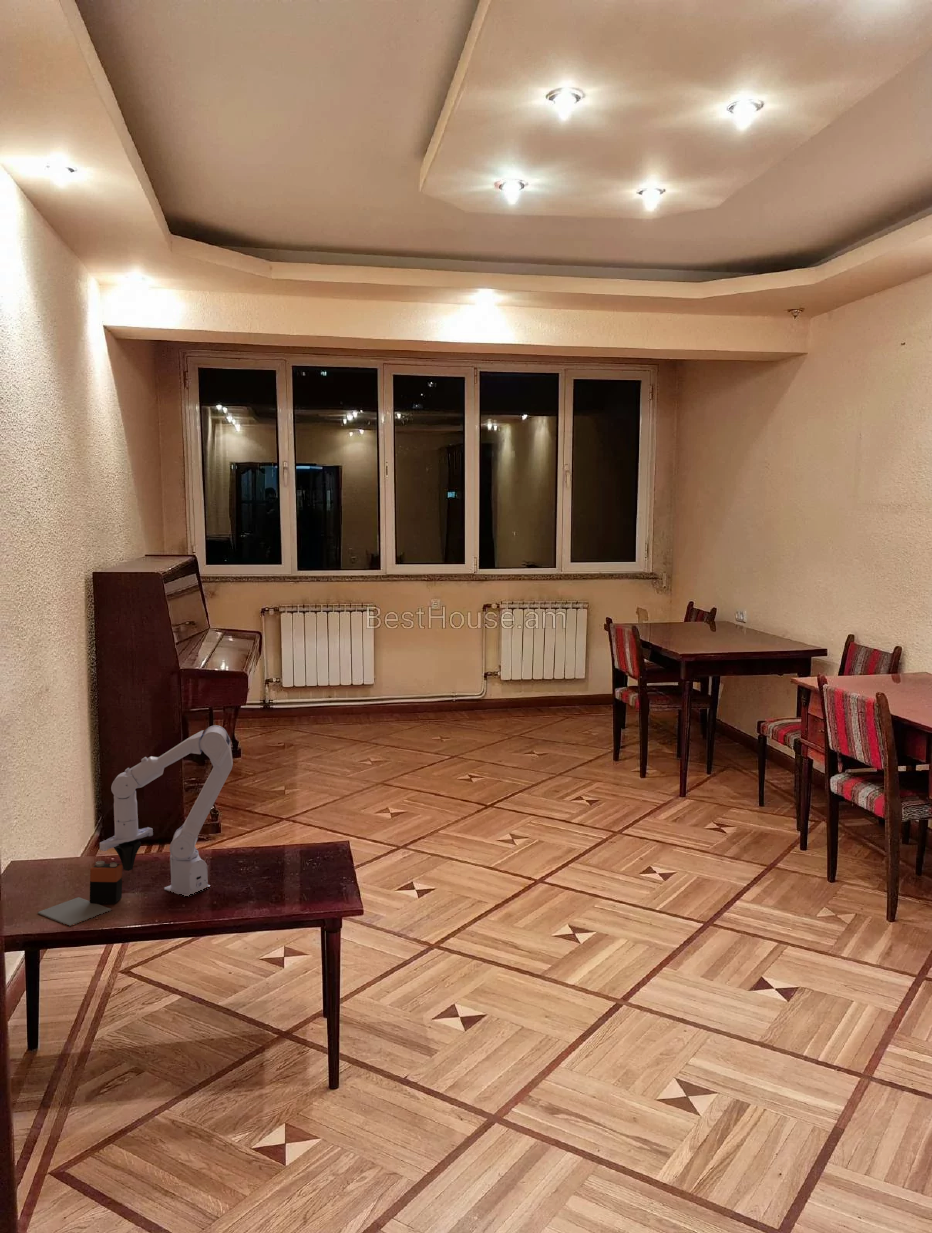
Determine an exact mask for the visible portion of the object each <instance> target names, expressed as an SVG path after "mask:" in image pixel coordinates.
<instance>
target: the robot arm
mask: <svg viewBox="0 0 932 1233" xmlns="http://www.w3.org/2000/svg"><path fill="white" fill-rule="evenodd" d="M202 752H203V753H204V755H206V756H207V757H208V758H209V761H210V763H211V765H212V768H211V771H210V772H209V775H208V777H207V779H206V780H205V782H204V784H203V786H202V788H201V790H200V792H199V794H198V797H197V798H196V800H195V802H194V804H193V806H192V808H191V809H190V812H189V813H188V815H187V817H186V819H185V821H184V822H183V824H182V825H181V826H180V827H179V828H177V829H176V830H175V832H174V834H173V837H172V841H171V842H170V844H169V853H170V855H169V859H170V860H169V861H170V863H169V864H170V885H168V886H164V888H163V889H164V891H168V892H170V891H171V893H173V892H174V894H177V895H179V894H182V895H184V896H183V897H185V896H188V897H190V896H191V895H190V894H193V895H195V894H196V893H195V892H198V891H200V890H202V891H204V890H203V889H204V888H206V887H210V886H211V885H210V884H209V882H208V879H209V878H208V877H209V876H208V874H209V873H208V865H207V863H206V861H205V860H204V859H202V858H201V856H200V854H199V850H198V849H197V847H196V844H197V842H198V840H199V834H200V833H201V830H202V828H203V825H204V823H205V822H206V820H207V818H208V815H209V814H210V812H211V810H212V808H213V806H214V804H215V802H216V800H217V799H218V796H219V794H220V792H221V790H222V788H223V786H224V785H225V783H226V781H227V779H228V777H229V775H230V773H231V771H232V769H233V765H234V760H233V752H232V746H231V738H230V735H229V734H228V732H227V730H226V729H225V728H224V727H223V726H220V725H219V724H218V725H216V724H214V725H211V726H209V727H207V728H206V729H205V730H200V731H198V732H197V733H195V734H193V735H191V736H189V737H188V738H186V739H184V740H183V741H181V742H180V743H178V744H177V745H175V746H174V747H172V748H170V749H169V750H167V751H165V753H162V754H161V755H160V756H152V755H151V756H149V757H147V756H144V757H143V758H141V759H140V761H141V762H139V763H137V764H136V765H134V766H132V767H131V768H130V767H127V768H126V769H125V770H124V772H121V773H119V774H118V775H117V776H116V777H115V778H114V780H113V781H112V783H111V787H110V789H111V790H110V791H111V793H112V794H113V816H114V817H113V821H114V835H113V836H111V837H109V838H107V839H106V840H105V839H104V840H103V841H100V842H99V850H100V851H103V852H106V851H108V850H109V849H111V848H113V849H114V850H115V852H116V853H117V855H118V857H119V859H120V861H121V864H122V870H125V871H128V872H130V871H131V870H132V871H133V869H134V864H135V860H136V856H137V854H138V852H139V850H140V848H141V846H142V842H141V841H140V839H143V838H146V837H152V836H153V835H154V832H153V831H154V830H153V828H152V827H149V826H147V827H143V828H139V818H138V815H139V814H138V800H137V790H136V789H140V788H143V787H145V786H146V785H148V784H150V783H151V782H152V781H154V780H156V779H157V778H159V777H161V776H163V774H164V770H165V768H167V767H168V766H170V765H172V764H174V763H176V762H177V761H179V760H181V759H182V758H184V757H186V756H188V755H189V754H196V755H201V754H202ZM210 888H211V887H210ZM200 892H201V891H200ZM194 893H195V894H194ZM198 893H199V892H198ZM182 895H181V896H182ZM189 895H190V896H189Z"/></svg>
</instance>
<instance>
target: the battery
mask: <svg viewBox="0 0 932 1233" xmlns="http://www.w3.org/2000/svg"><path fill="white" fill-rule="evenodd" d="M89 872H90V873H89V901H90V903H96V904H110V905H112V904H113V905H115V904H116V903H118V902H119V901H120V900H121V899H122V897H123V865H122V863H117V861H115V862H114V861H113V862H110V863H105V861H103V860H100V861H99V860H98V861H96V862H95V865H93V866H91V868H90V871H89Z"/></svg>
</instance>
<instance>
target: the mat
mask: <svg viewBox="0 0 932 1233" xmlns="http://www.w3.org/2000/svg"><path fill="white" fill-rule="evenodd" d="M108 911H109V912H111V911H112V909H111V908H110V907H106V906H104V905H102V904H100V903H90V900H87V899H85V898H83V897H79V896H78V897H75V898H72V899H70V900H66V901H64V902H61V903H59V904H56V905H53V906H50V907H48V908H45V909H42V910H40V911H37V914H38V915H40V916H43V917H45V918H48V919H50V920H52V921H55V922H57V923H60V924H62V923H63V925H65V924H67V925H69V926H68V927H70V926H71V925H73V924H76V925H78V924H77V923H79V922H80V921H84V922H86V921H88V920H87V919H88V918H91V919H94V918H96V917H97V916H96V915H99V914H101V915H104V914H106V913H105V912H107V913H109V912H108ZM103 913H104V914H103ZM95 916H96V917H95ZM99 916H100V915H99ZM93 917H94V918H93ZM85 920H86V921H85ZM79 924H80V923H79ZM67 925H66V926H67ZM71 927H72V926H71Z"/></svg>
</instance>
